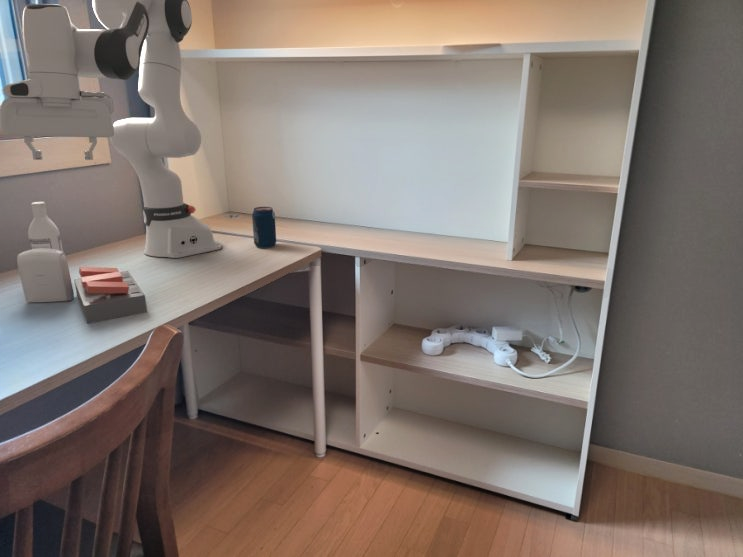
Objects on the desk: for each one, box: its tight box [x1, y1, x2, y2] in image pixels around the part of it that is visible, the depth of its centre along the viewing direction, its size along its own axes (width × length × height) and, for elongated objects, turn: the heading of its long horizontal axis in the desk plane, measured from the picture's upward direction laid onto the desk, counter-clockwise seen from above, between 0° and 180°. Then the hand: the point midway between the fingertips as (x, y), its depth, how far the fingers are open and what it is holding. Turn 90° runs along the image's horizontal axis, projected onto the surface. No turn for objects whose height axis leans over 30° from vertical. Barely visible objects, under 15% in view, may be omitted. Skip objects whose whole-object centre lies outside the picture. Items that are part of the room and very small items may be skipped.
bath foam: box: [27, 201, 64, 252], centre depth 138 cm, size 7×7×20 cm
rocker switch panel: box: [73, 270, 148, 324], centre depth 125 cm, size 12×20×5 cm, turn 33°
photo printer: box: [16, 248, 75, 303], centre depth 125 cm, size 10×4×12 cm, turn 95°
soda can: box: [251, 206, 277, 249], centre depth 170 cm, size 7×7×12 cm
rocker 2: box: [80, 271, 123, 288], centre depth 123 cm, size 8×4×1 cm, turn 123°
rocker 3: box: [85, 281, 129, 293], centre depth 119 cm, size 8×4×1 cm, turn 123°
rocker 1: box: [78, 266, 120, 278], centre depth 128 cm, size 8×4×1 cm, turn 123°
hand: (64, 159), depth 114 cm, fingers open, 8 cm apart
